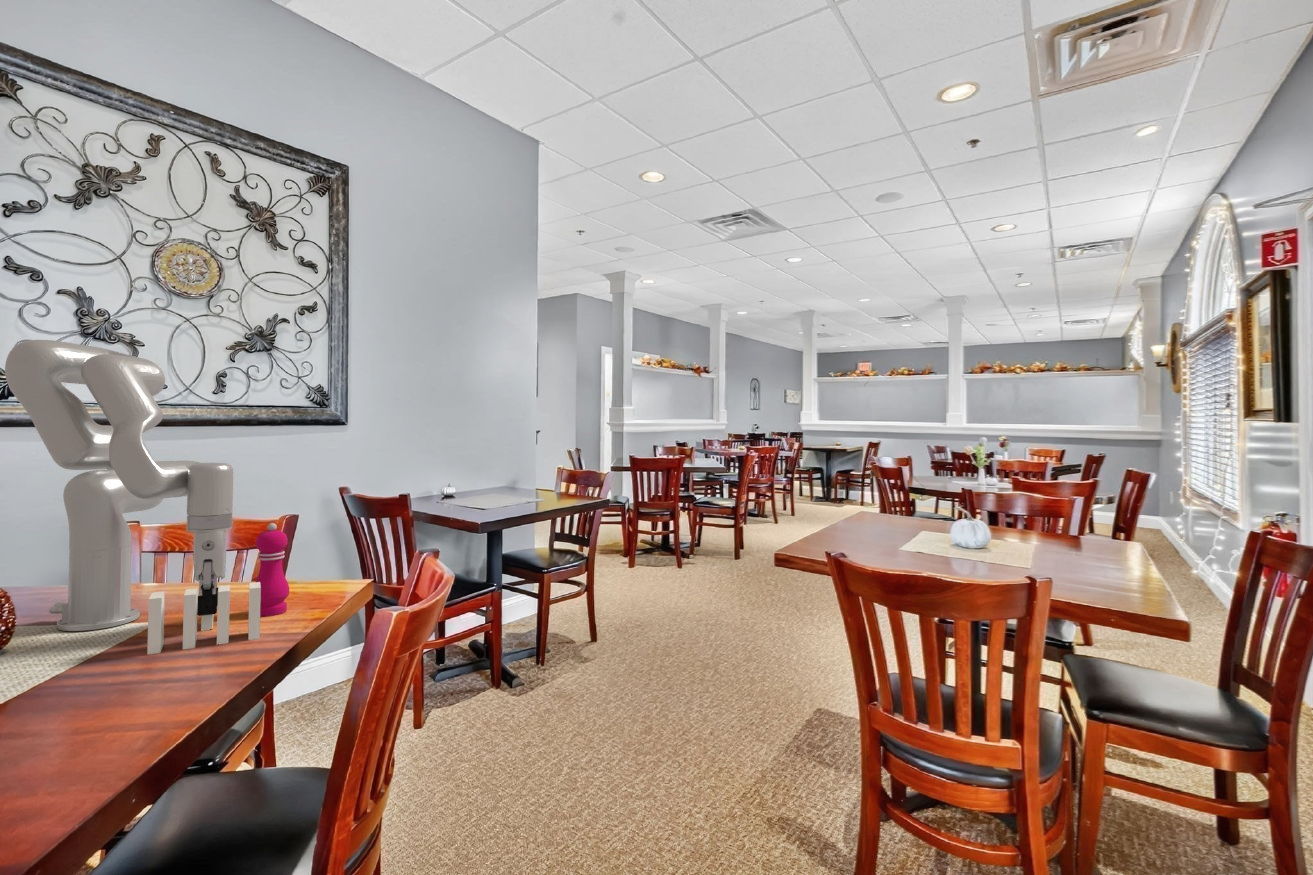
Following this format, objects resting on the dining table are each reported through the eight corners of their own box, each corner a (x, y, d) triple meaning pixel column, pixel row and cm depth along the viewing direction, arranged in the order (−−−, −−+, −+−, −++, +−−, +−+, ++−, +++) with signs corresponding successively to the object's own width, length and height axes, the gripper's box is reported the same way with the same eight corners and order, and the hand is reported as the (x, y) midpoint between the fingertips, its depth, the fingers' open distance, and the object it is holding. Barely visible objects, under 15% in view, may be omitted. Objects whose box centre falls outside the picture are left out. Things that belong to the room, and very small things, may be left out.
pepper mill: (296, 608, 137) (298, 521, 137) (273, 618, 130) (275, 526, 130) (267, 607, 138) (269, 520, 138) (242, 616, 130) (244, 524, 130)
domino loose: (201, 631, 120) (202, 581, 120) (202, 624, 125) (203, 576, 125) (212, 629, 121) (213, 580, 121) (213, 622, 126) (214, 575, 126)
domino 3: (216, 644, 113) (217, 591, 113) (217, 636, 117) (218, 586, 117) (228, 643, 114) (229, 590, 114) (228, 635, 118) (230, 584, 118)
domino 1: (147, 654, 107) (148, 599, 107) (151, 646, 112) (152, 592, 112) (160, 652, 108) (161, 597, 108) (163, 644, 113) (164, 591, 113)
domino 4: (248, 640, 116) (249, 588, 116) (248, 632, 120) (249, 582, 120) (259, 638, 117) (260, 587, 117) (258, 631, 121) (260, 581, 121)
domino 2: (182, 649, 110) (183, 595, 110) (184, 641, 114) (186, 589, 114) (194, 647, 111) (196, 594, 111) (196, 639, 116) (197, 588, 116)
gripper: (231, 527, 118) (229, 619, 118) (232, 516, 132) (230, 598, 132) (183, 529, 114) (181, 625, 114) (189, 518, 128) (187, 603, 128)
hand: (207, 609), depth 123 cm, fingers closed on domino loose, 5 cm apart
